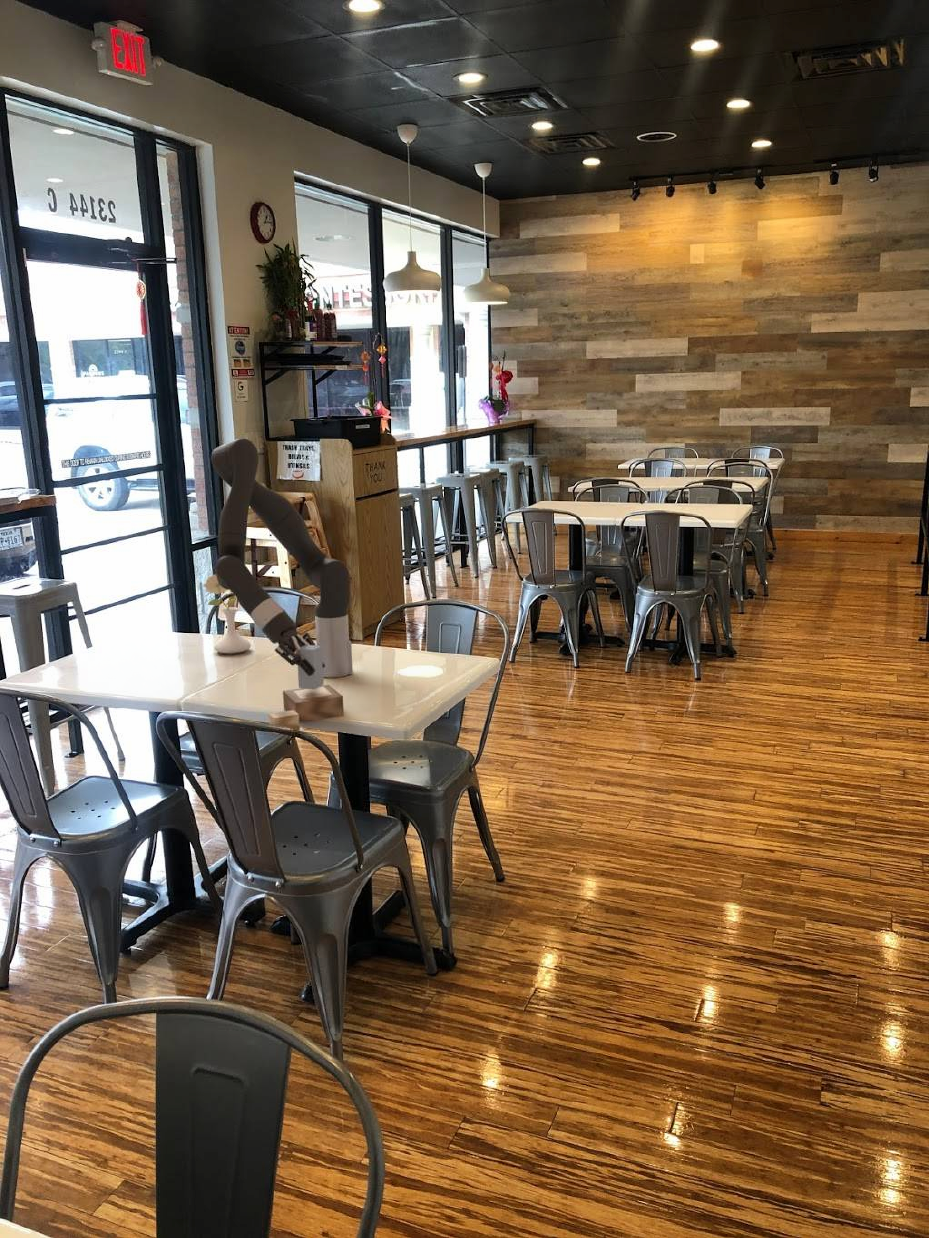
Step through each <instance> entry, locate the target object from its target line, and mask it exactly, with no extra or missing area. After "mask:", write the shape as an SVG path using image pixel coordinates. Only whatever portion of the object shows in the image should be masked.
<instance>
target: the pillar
mask: <svg viewBox="0 0 929 1238" xmlns="http://www.w3.org/2000/svg"><path fill="white" fill-rule="evenodd" d="M315 645H316V644H315ZM315 645H304V646H302V647H300V648H301V649H300V650H301V654H302V655H303V656H304V658H305V660H307V661H308V662H309V663H310V664H311V666H312V667H313V668H314V669H315V672H314V673H313V674H312V675H311V676H308V675H307V673H305V671H304V670H303V669H302V668H301V667H300V666H297V676H298V677H297V679H298V689H300V688H305V689H317V688H318V687H320V686H323V685H325V684H324V677H323V659H322V646H317V645H316V646H315ZM297 656H298V655H297ZM298 657H299V656H298Z"/></svg>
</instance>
